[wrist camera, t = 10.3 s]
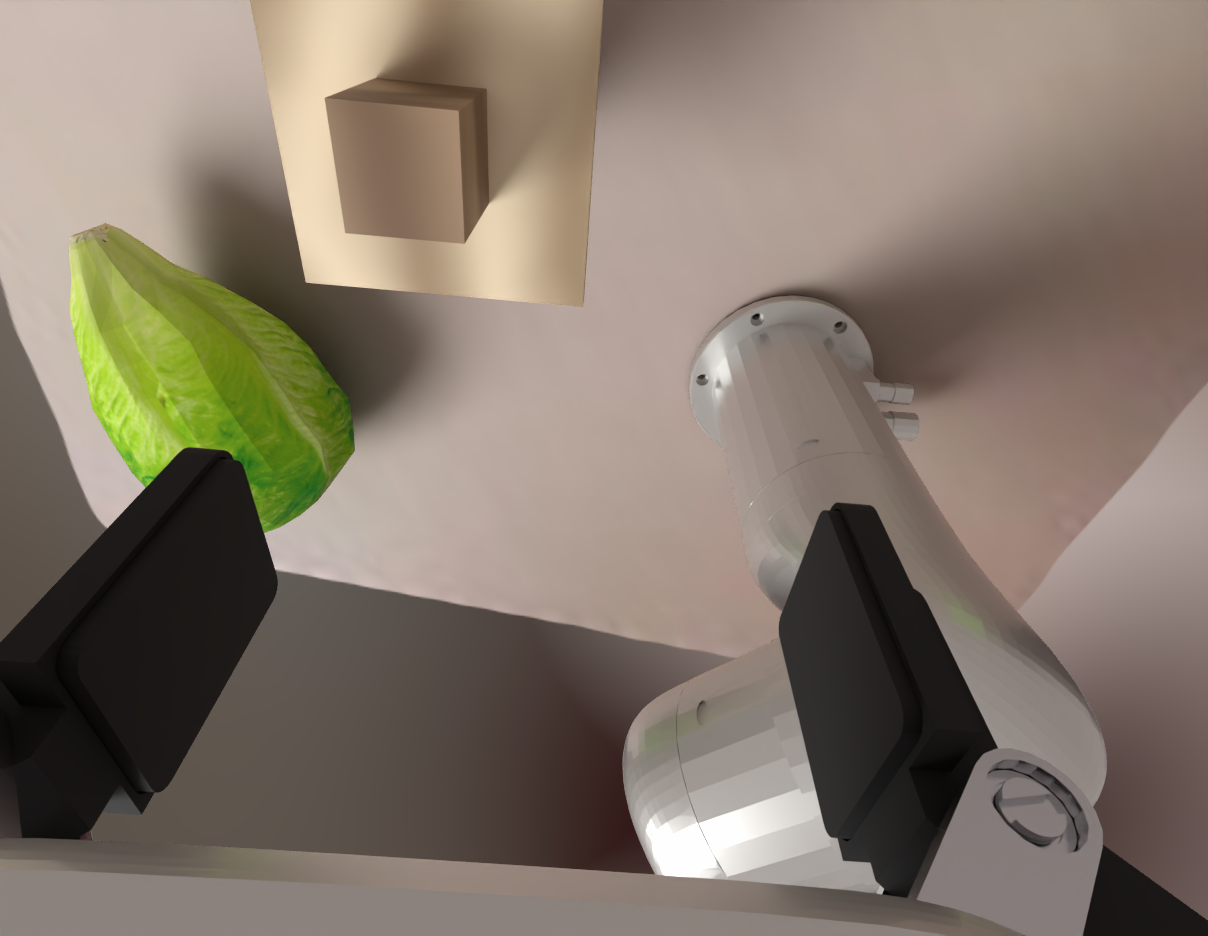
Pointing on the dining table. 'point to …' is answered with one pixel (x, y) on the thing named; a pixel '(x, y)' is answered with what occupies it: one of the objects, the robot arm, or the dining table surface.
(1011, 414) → the dining table surface
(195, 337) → the lettuce
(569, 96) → the lid
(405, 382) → the dining table surface
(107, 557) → the robot arm
